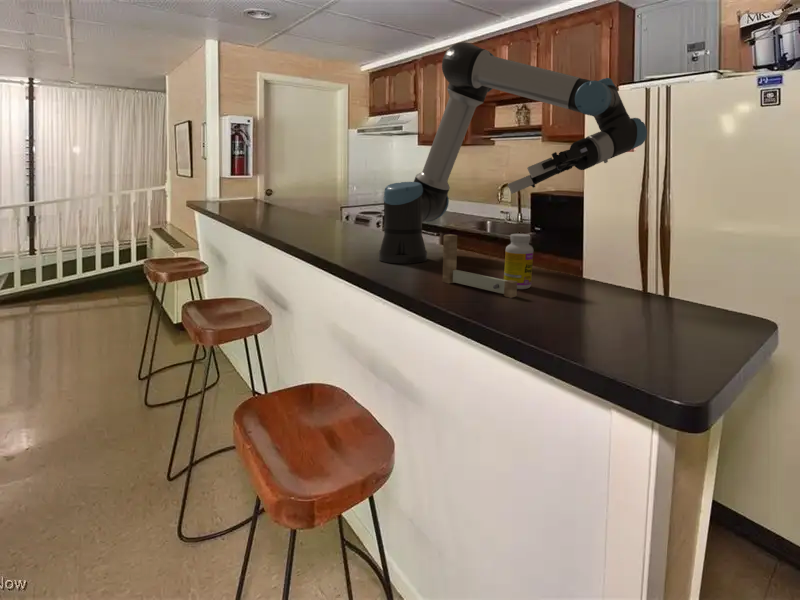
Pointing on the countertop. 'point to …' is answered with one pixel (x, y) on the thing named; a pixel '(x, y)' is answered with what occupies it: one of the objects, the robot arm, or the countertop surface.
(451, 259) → the wooden post frame
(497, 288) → the bar
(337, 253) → the countertop surface
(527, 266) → the supplement bottle
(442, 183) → the robot arm
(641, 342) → the countertop surface
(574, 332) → the countertop surface
